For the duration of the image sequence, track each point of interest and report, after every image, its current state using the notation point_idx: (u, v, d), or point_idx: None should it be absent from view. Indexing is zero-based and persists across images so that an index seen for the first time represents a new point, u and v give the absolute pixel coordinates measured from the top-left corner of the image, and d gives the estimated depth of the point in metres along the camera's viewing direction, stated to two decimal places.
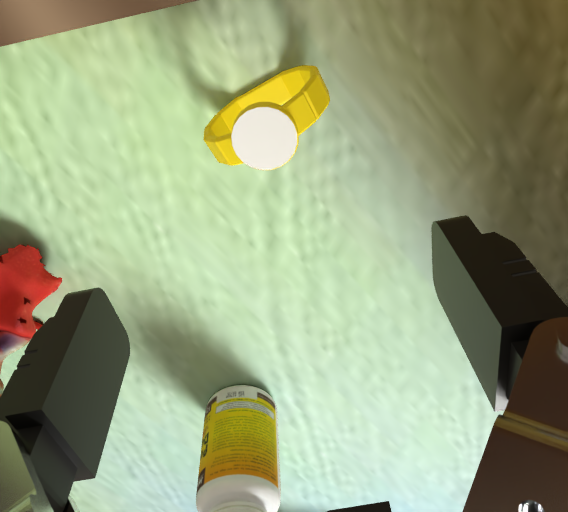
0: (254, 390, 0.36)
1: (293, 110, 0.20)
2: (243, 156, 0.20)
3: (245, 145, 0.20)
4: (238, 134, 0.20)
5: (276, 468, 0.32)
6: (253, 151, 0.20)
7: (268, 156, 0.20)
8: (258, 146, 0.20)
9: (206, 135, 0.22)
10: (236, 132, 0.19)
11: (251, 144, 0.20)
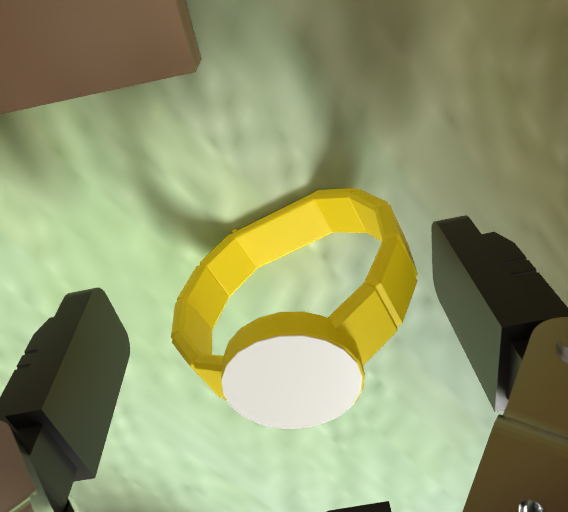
0: None
1: (354, 325, 0.09)
2: (247, 410, 0.10)
3: (251, 394, 0.09)
4: (236, 378, 0.09)
5: None
6: (268, 403, 0.09)
7: (299, 411, 0.10)
8: (279, 392, 0.10)
9: (176, 330, 0.11)
10: (232, 375, 0.09)
11: (264, 393, 0.09)
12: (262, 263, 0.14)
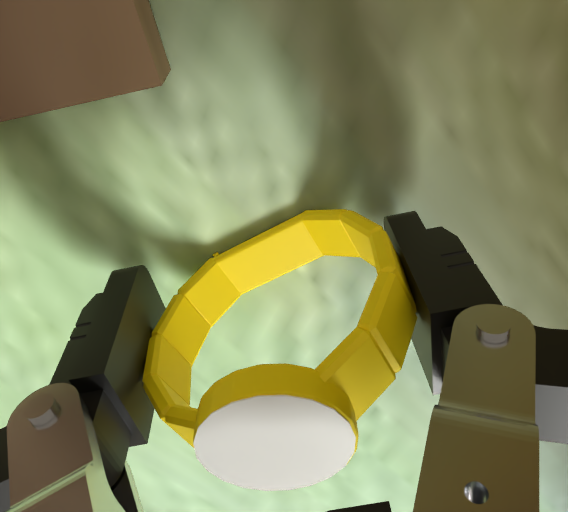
0: None
1: (346, 377, 0.08)
2: (224, 473, 0.08)
3: (228, 457, 0.08)
4: (210, 440, 0.08)
5: None
6: (248, 466, 0.08)
7: (285, 472, 0.08)
8: (261, 452, 0.08)
9: (148, 373, 0.10)
10: (205, 437, 0.08)
11: (243, 455, 0.08)
12: (247, 289, 0.13)
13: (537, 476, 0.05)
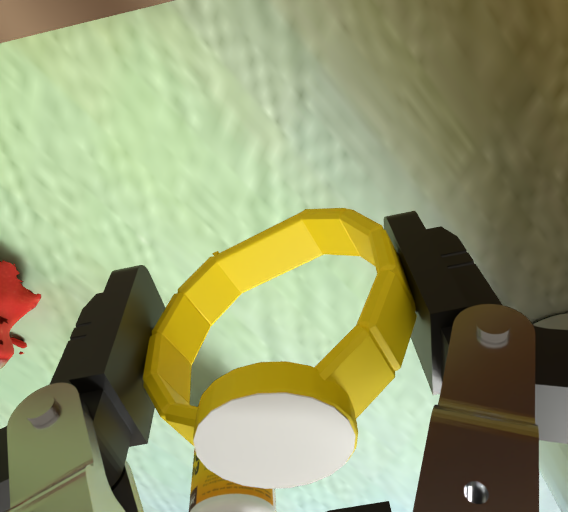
0: None
1: (345, 375, 0.08)
2: (224, 471, 0.08)
3: (228, 454, 0.08)
4: (210, 438, 0.08)
5: None
6: (248, 464, 0.08)
7: (284, 470, 0.08)
8: (261, 450, 0.08)
9: (148, 371, 0.10)
10: (204, 435, 0.08)
11: (243, 453, 0.08)
12: (247, 288, 0.13)
13: (537, 476, 0.05)
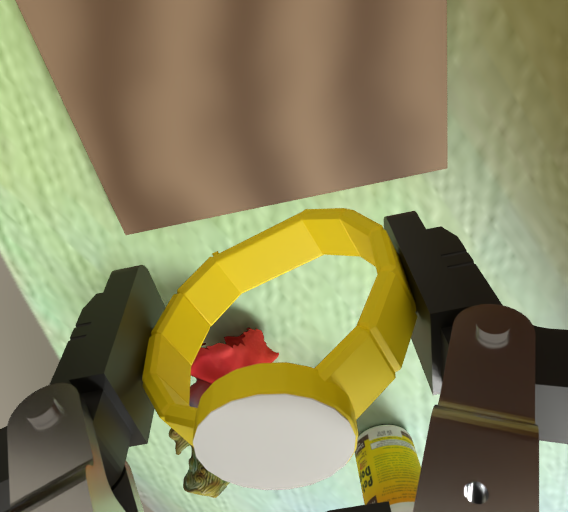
0: (398, 429, 0.44)
1: (346, 376, 0.08)
2: (224, 472, 0.08)
3: (228, 456, 0.08)
4: (210, 439, 0.08)
5: None
6: (247, 465, 0.08)
7: (284, 471, 0.08)
8: (261, 451, 0.08)
9: (147, 372, 0.10)
10: (204, 436, 0.08)
11: (242, 454, 0.08)
12: (247, 288, 0.13)
13: (537, 476, 0.05)
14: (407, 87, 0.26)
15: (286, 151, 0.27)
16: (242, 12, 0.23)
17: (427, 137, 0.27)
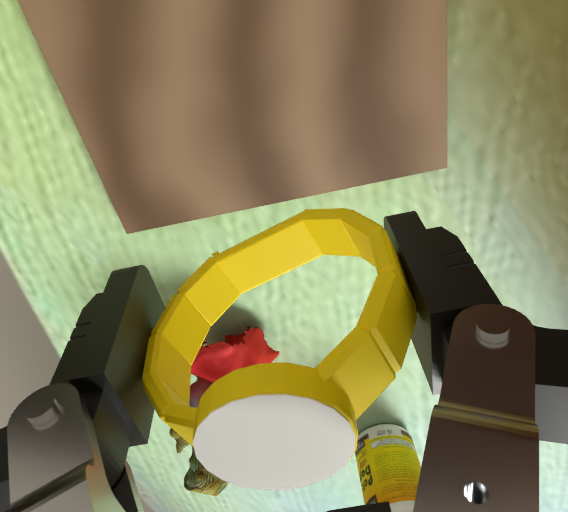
0: (398, 428, 0.44)
1: (346, 377, 0.08)
2: (224, 472, 0.08)
3: (228, 456, 0.08)
4: (210, 439, 0.08)
5: None
6: (247, 465, 0.08)
7: (284, 472, 0.08)
8: (261, 451, 0.08)
9: (147, 372, 0.10)
10: (204, 436, 0.08)
11: (242, 455, 0.08)
12: (247, 288, 0.13)
13: (537, 476, 0.05)
14: (407, 86, 0.26)
15: (286, 150, 0.27)
16: (243, 12, 0.23)
17: (427, 136, 0.27)
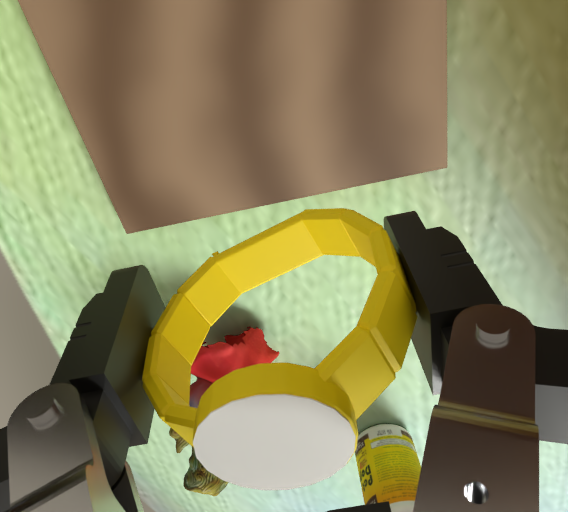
0: (398, 428, 0.44)
1: (346, 377, 0.08)
2: (224, 472, 0.08)
3: (228, 456, 0.08)
4: (210, 439, 0.08)
5: None
6: (247, 465, 0.08)
7: (284, 472, 0.08)
8: (261, 451, 0.08)
9: (147, 372, 0.10)
10: (204, 436, 0.08)
11: (242, 455, 0.08)
12: (247, 288, 0.13)
13: (537, 476, 0.05)
14: (407, 86, 0.26)
15: (286, 150, 0.27)
16: (243, 12, 0.23)
17: (427, 136, 0.27)
